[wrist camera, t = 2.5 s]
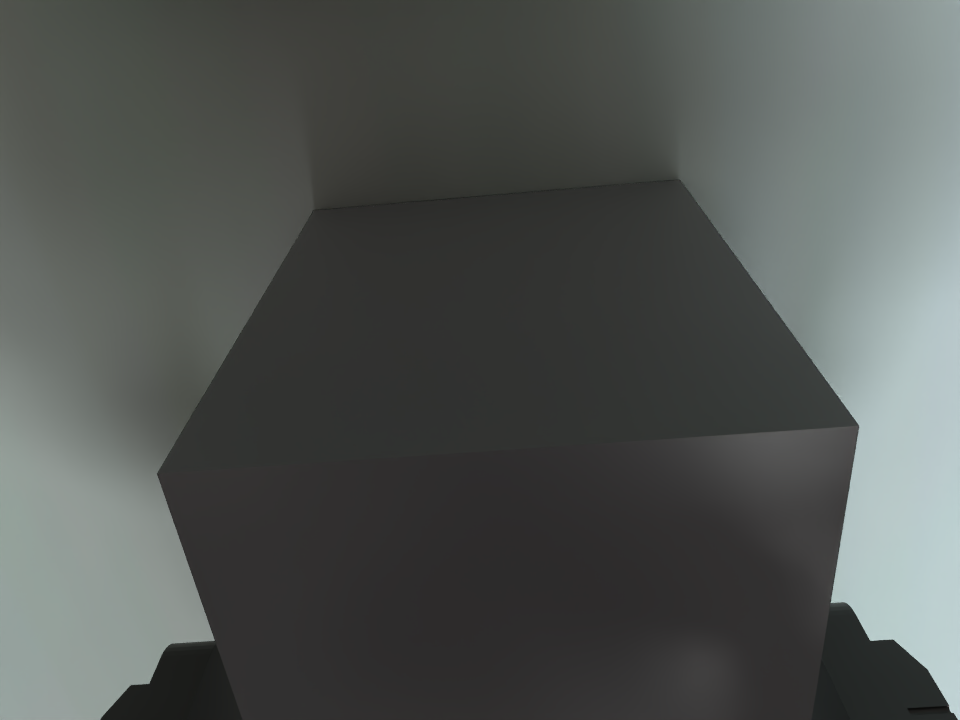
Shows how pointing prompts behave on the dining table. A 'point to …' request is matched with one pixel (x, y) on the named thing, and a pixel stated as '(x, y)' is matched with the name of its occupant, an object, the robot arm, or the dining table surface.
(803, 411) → the block
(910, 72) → the dining table surface
